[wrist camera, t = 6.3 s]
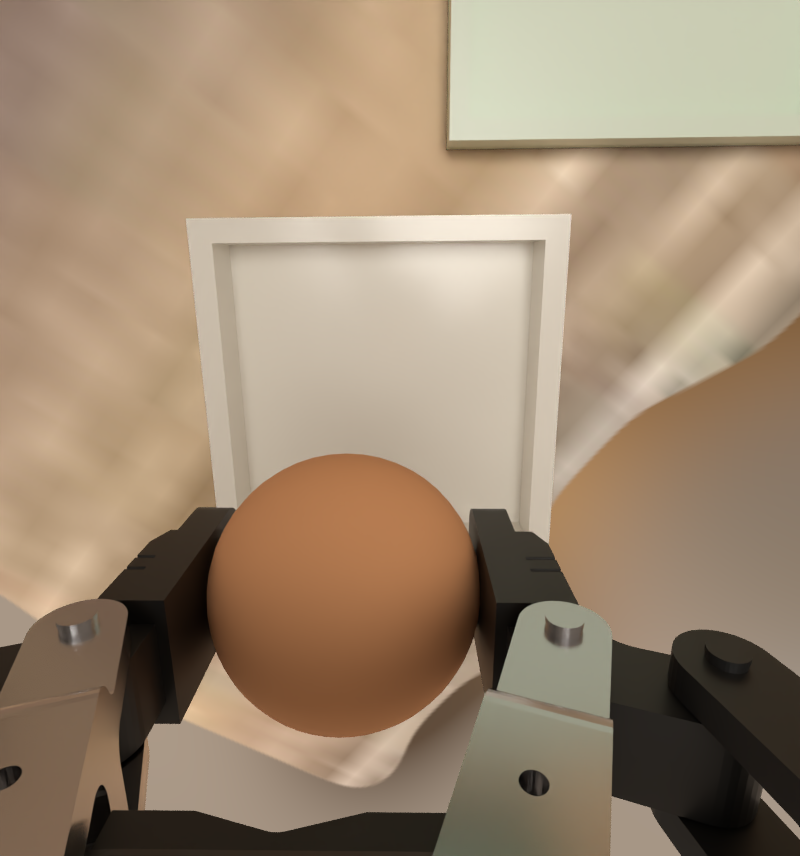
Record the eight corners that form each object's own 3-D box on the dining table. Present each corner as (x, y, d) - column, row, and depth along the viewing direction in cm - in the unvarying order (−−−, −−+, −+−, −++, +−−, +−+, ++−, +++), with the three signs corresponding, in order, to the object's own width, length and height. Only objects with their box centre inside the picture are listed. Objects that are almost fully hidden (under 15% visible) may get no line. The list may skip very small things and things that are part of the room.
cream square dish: (239, 534, 31) (222, 562, 28) (209, 223, 27) (185, 218, 24) (534, 534, 31) (547, 562, 28) (553, 219, 26) (571, 214, 23)
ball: (257, 621, 14) (177, 810, 9) (240, 422, 12) (137, 522, 8) (463, 621, 14) (493, 812, 9) (469, 422, 12) (509, 523, 8)
